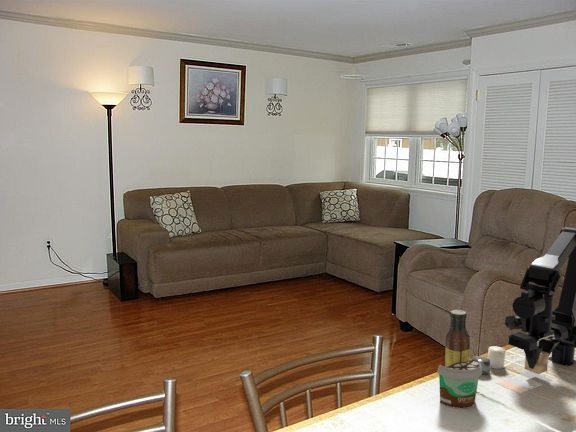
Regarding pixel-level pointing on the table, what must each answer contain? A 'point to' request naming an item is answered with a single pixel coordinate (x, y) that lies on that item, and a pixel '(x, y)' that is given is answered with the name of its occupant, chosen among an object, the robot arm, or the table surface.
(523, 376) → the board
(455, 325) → the sauce bottle
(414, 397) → the table surface
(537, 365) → the oak block
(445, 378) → the food container
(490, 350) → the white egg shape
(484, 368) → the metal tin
